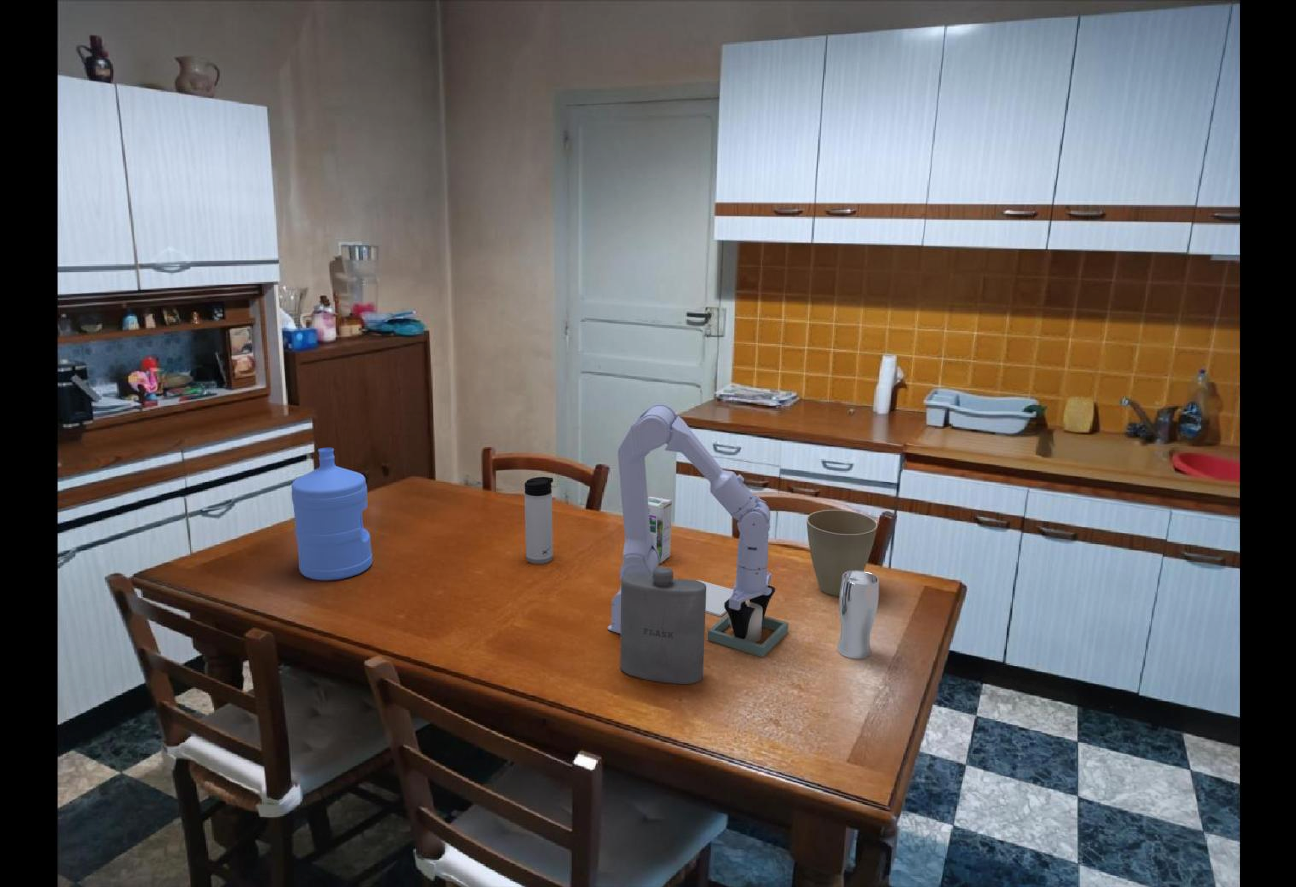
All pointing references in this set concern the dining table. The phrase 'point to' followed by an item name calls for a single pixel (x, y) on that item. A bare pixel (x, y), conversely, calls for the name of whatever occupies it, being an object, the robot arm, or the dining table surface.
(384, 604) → the dining table surface
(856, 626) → the beer glass
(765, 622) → the holder
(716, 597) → the mat
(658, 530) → the syrup box
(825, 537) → the plant pot
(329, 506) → the water jug
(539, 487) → the travel mug
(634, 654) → the flask
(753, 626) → the jug
